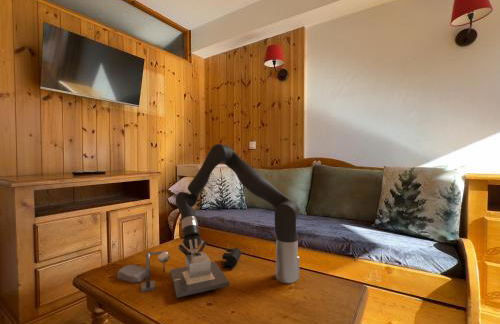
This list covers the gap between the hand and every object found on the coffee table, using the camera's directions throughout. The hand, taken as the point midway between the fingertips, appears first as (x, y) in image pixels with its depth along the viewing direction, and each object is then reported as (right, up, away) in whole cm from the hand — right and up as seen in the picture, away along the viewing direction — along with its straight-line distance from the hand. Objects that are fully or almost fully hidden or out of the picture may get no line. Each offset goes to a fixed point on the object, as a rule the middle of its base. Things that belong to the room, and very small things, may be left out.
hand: (195, 264), depth 106 cm
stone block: (-27, -6, +1) cm, 27 cm away
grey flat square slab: (+2, -4, -5) cm, 7 cm away
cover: (+2, -3, -4) cm, 5 cm away
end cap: (+15, -6, +13) cm, 21 cm away
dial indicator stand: (-15, -6, -7) cm, 17 cm away
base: (+2, -6, -5) cm, 8 cm away
